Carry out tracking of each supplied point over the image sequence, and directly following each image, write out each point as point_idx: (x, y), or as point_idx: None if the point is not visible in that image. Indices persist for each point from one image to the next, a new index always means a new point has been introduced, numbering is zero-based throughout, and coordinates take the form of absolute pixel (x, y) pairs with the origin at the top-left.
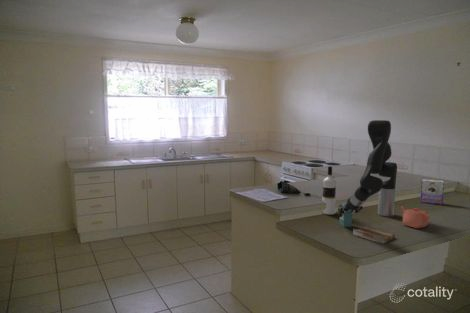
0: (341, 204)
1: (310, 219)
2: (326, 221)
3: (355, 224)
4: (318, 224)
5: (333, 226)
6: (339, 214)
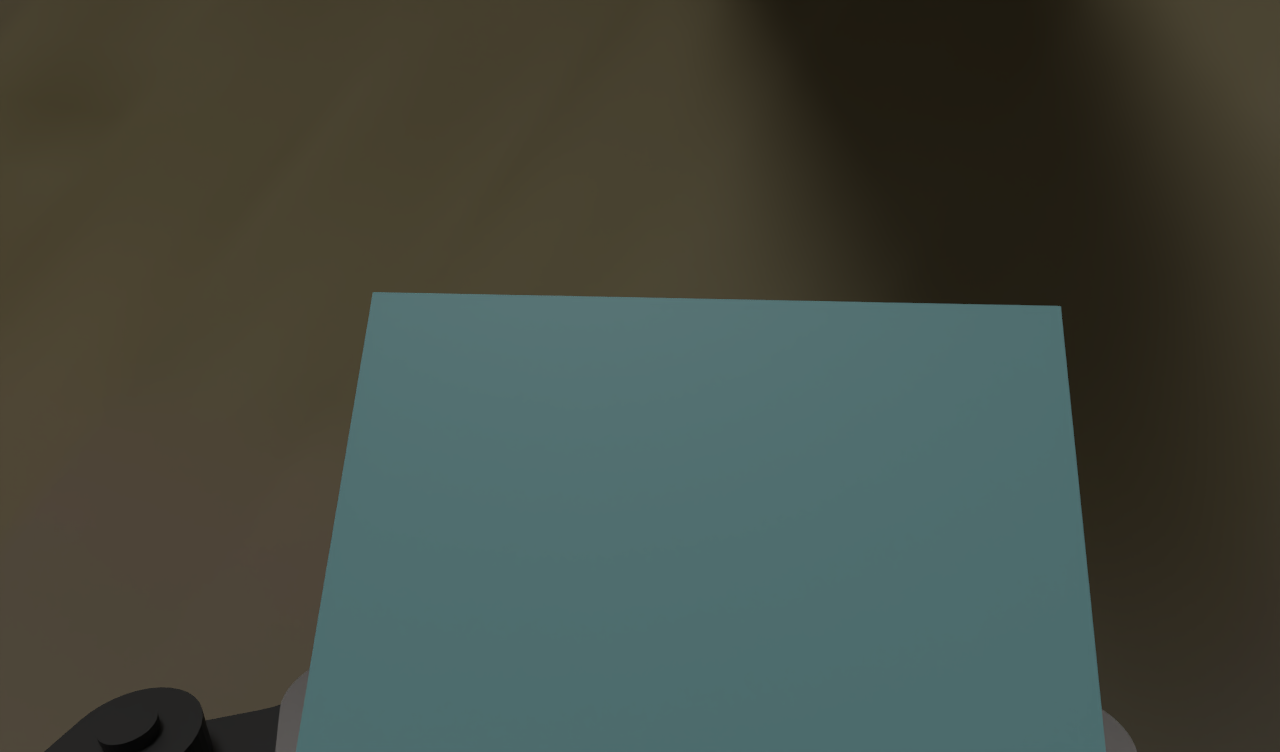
0: (346, 480)
1: (133, 63)
2: (396, 264)
3: None
4: (47, 434)
5: None
6: None
